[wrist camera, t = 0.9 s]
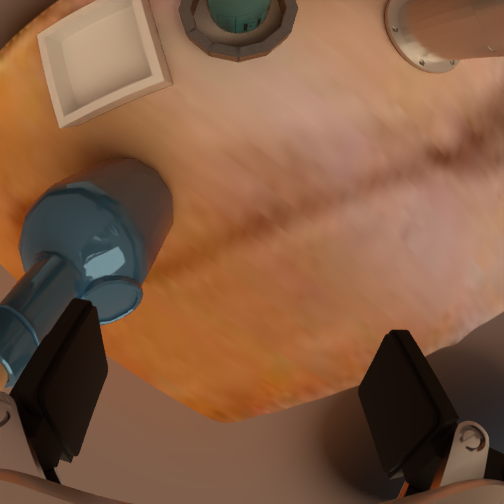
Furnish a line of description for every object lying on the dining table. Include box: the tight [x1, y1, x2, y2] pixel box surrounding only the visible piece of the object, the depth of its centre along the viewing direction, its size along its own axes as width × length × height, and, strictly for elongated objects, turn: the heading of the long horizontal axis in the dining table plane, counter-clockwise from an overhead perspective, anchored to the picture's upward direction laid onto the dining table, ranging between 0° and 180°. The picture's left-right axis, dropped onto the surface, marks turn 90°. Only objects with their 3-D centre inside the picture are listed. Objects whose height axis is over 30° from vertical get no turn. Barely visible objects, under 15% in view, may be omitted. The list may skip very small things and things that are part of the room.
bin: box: [37, 0, 173, 128], centre depth 27 cm, size 13×13×5 cm
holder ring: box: [179, 0, 298, 62], centre depth 27 cm, size 12×12×3 cm
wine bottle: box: [0, 158, 173, 392], centre depth 24 cm, size 14×13×30 cm
